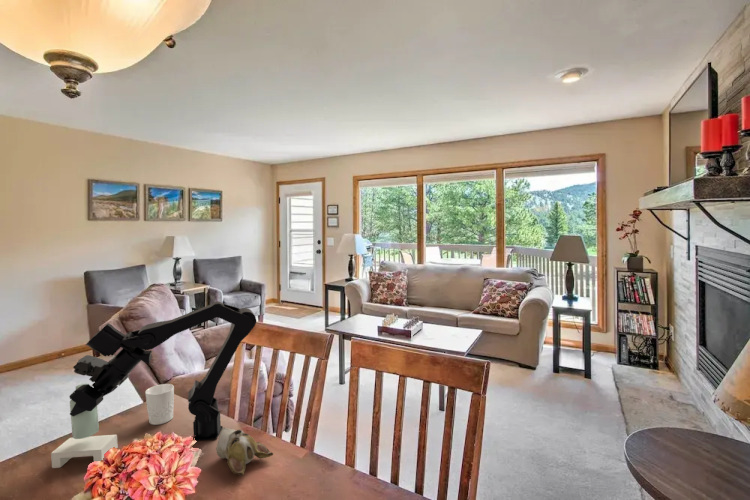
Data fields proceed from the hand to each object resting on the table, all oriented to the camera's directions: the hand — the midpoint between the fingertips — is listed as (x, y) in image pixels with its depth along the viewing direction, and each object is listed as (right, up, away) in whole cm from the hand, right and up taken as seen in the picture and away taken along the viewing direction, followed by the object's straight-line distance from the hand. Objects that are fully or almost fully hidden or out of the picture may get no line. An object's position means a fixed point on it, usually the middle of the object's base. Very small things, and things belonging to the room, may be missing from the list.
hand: (78, 409), depth 99 cm
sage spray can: (+1, -7, +1) cm, 7 cm away
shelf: (+1, -13, +1) cm, 13 cm away
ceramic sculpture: (+44, -13, -1) cm, 46 cm away
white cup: (+10, -12, +20) cm, 26 cm away
